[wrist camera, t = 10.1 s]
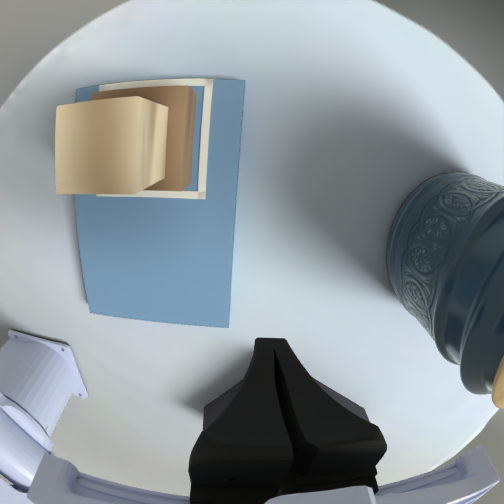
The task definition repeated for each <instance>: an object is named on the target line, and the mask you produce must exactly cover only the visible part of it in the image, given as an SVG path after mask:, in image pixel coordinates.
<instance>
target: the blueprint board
mask: <svg viewBox="0 0 504 504" xmlns="http://www.w3.org/2000/svg"><path fill="white" fill-rule="evenodd" d="M186 85H188V86H189V87H190V88H191V89H192V90H194V91H195V92H196V93H197V94H196V106H195V119H194V134H193V151H192V172H191V184H190V185H189V186H188V187H186V188H185V189H184V190H183V191H149V190H142V191H140V192H138V193H136V194H135V195H126V194H74V197H75V212H76V224H77V234H78V243H79V251H80V258H81V265H82V272H83V278H84V284H85V289H86V295H87V300H88V305H89V310H90V313H93V314H100V315H106V316H113V317H121V318H129V319H136V320H145V321H154V322H163V323H173V324H183V325H195V326H207V327H221V328H229V317H230V297H231V278H232V260H233V242H234V226H235V210H236V195H237V180H238V166H239V152H240V139H241V126H242V113H243V101H244V89H245V80H228V79H159V80H143V81H131V82H121V83H112V84H104V85H99V86H92V87H86V88H79V89H77V90H76V102H75V103H78V102H85V101H90V98H91V93H92V92H100V91H108V90H117V89H127V88H139V87H155V86H186Z"/></svg>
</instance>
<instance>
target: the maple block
mask: <svg viewBox="0 0 504 504" xmlns="http://www.w3.org/2000/svg"><path fill="white" fill-rule="evenodd" d="M167 121H168V107H166V106H164V105H161V104H158V103H156V102H153V101H150V100H147V99H145V98H142V97H139V96H132V97H120V98H110V99H101V100H93V101H85V102H78V103H72V104H66V105H60V106H57V109H56V127H55V180H56V195H59V194H126V195H135V194H136V193H138V192H140V191H142V190H143V189H145V188H147V187H149V186H151V185H153V184H154V183H156V182H158V181H160V180H162V179H164V178H165V160H166V138H167Z"/></svg>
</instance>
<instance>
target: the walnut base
mask: <svg viewBox="0 0 504 504" xmlns="http://www.w3.org/2000/svg"><path fill="white" fill-rule="evenodd" d="M196 94H197V93H196V92H195V91H194V90H192V89H191V88H190V87H189V86H188V85H186V86H155V87H139V88H127V89H117V90H108V91H100V92H92V93H91V98H90V101H93V100H101V99H110V98H120V97H132V96H139V97H142V98H145V99H147V100H150V101H153V102H156V103H158V104H161V105H164V106H166V107H168V121H167V138H166V160H165V178H164V179H162V180H160V181H158V182H156V183H154V184H153V185H151V186H149V187H147V188H145V189H143V190H149V191H183V190H184V189H185V188H186V187H188V186H189V185H190V184H191V172H192V151H193V134H194V119H195V106H196Z"/></svg>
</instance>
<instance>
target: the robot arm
mask: <svg viewBox="0 0 504 504" xmlns="http://www.w3.org/2000/svg"><path fill="white" fill-rule="evenodd" d="M8 336H9V340H8V341H7V342H6V343H5V344H4V345H3V346H2V348H1V349H0V474H1V475H3V476H4V477H5V478H7V479H8V480H9V481H10V482H12V483H13V484H14V485H8V484H7V483H6V482H4V481H3V480H2V479H1V478H0V504H472V503H473V502H474V501H476V500H477V499H478V498H480V496H482V495H483V494H485V493H486V492H487V491H488V490H490V489H491V488H492V487H493V486H494V485H496V484H497V483H498V482H499V481H500V478H499V476H498V475H497V472H496V471H495V469H494V467H493V465H492V463H491V461H490V459H489V457H488V455H487V454H486V452H485V450H484V448H483V447H482V445H480V446H478V447H476V448H473V449H471V450H469V451H467V452H465V453H463V454H462V455H461V456H460V457H459V458H458V459H457V460H456V461H455V462H454V463H452V464H450V465H447V466H444V467H441V468H439V469H436V470H433V471H430V472H427V473H424V474H421V475H418V476H415V477H412V478H408V479H405V480H401V481H398V482H394V483H390V484H386V485H382V486H378V485H377V482H376V478H375V476H376V475H377V470H376V467H375V466H376V465H377V463H378V462H379V461H380V459H381V458H382V457H383V456H384V454H385V452H386V450H387V444H386V442H385V439H384V437H383V435H382V433H381V431H380V429H379V427H378V426H376V425H374V424H372V423H370V422H368V421H366V420H364V419H362V418H360V417H359V416H357V415H355V414H354V413H352V412H351V411H349V410H348V409H346V408H345V407H343V406H342V405H341V404H339V403H338V402H337V401H336V400H334V399H333V398H332V397H331V396H330V395H328V394H327V393H326V392H325V391H324V390H323V389H322V388H321V387H320V386H319V385H318V384H317V382H316V381H315V380H314V379H313V378H312V377H311V376H310V374H309V373H308V372H307V371H306V369H305V368H304V367H303V365H302V364H301V362H300V361H299V360H298V358H297V357H296V355H295V354H294V352H293V350H292V349H291V347H290V346H289V344H288V342H287V340H286V339H285V338H257V339H255V345H254V354H253V357H252V360H251V363H250V366H249V368H248V371H247V373H246V375H245V377H244V379H243V381H242V383H241V385H240V387H239V388H238V390H237V392H236V393H235V395H234V396H233V398H232V399H231V401H230V402H229V403H228V405H227V406H226V407H225V408H224V410H223V411H222V412H221V413H220V414H219V415H218V417H217V418H216V419H215V420H214V421H213V422H212V423H211V424H210V425H209V426H208V427H207V428H205V429H204V430H203V431H202V432H201V434H200V436H199V438H198V439H197V441H196V443H195V445H194V447H193V449H192V452H191V455H190V459H189V469H188V471H189V476H190V480H191V491H190V497H188V496H180V495H173V494H166V493H160V492H155V491H149V490H144V489H140V488H135V487H131V486H126V485H122V484H118V483H114V482H111V481H107V480H104V479H100V478H97V477H93V476H90V475H87V474H84V473H81V472H79V471H78V469H77V468H76V466H75V465H73V464H72V463H71V462H69V461H67V460H64V459H62V458H59V457H56V456H55V454H54V453H53V452H52V451H51V449H52V447H53V444H54V443H53V442H52V441H51V440H50V439H49V438H50V436H51V434H52V432H53V430H54V428H55V426H56V424H57V422H58V420H59V418H60V416H61V414H62V412H63V410H64V408H65V406H66V404H67V402H68V400H69V398H70V396H71V395H74V396H78V397H82V398H87V397H88V394H87V391H86V389H85V386H84V384H83V381H82V378H81V376H80V373H79V370H78V367H77V364H76V362H75V359H74V356H73V353H72V350H71V347H70V346H69V345H66V344H62V343H58V342H54V341H50V340H46V339H42V338H38V337H34V336H30V335H27V334H23V333H20V332H16V331H13V330H9V331H8Z"/></svg>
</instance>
